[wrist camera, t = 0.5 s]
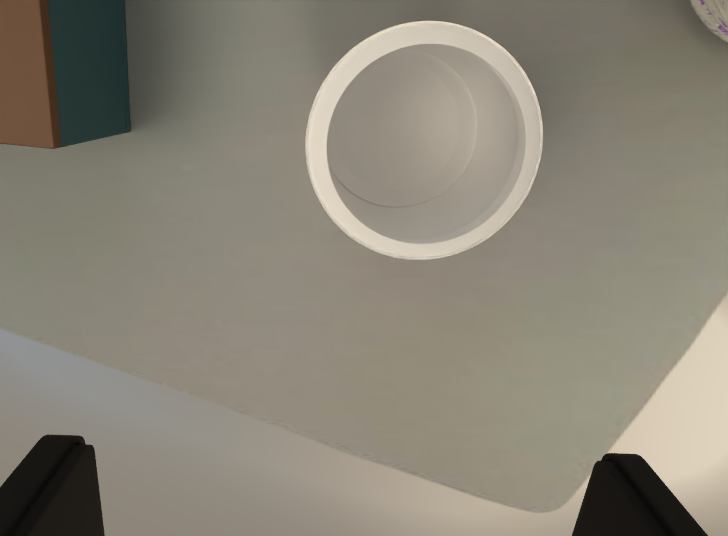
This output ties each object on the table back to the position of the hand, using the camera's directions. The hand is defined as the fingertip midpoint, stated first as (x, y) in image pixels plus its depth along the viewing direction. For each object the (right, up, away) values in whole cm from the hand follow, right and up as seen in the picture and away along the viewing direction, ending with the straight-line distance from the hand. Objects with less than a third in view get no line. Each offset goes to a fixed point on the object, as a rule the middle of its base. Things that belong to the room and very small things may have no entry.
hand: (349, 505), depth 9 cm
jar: (+2, +15, +27) cm, 30 cm away
